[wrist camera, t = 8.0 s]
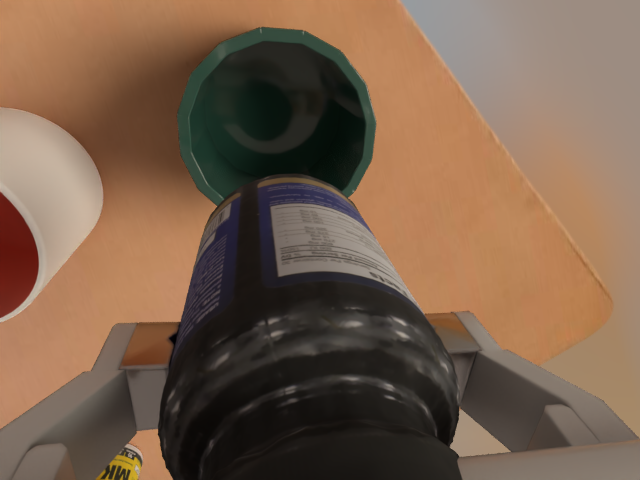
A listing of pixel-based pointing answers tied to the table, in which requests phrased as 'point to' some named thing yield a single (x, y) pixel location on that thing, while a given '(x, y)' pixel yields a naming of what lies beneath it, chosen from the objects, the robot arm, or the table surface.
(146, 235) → the table surface
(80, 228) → the cup
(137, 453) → the supplement bottle
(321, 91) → the green cup
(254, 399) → the pill bottle
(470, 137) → the table surface
